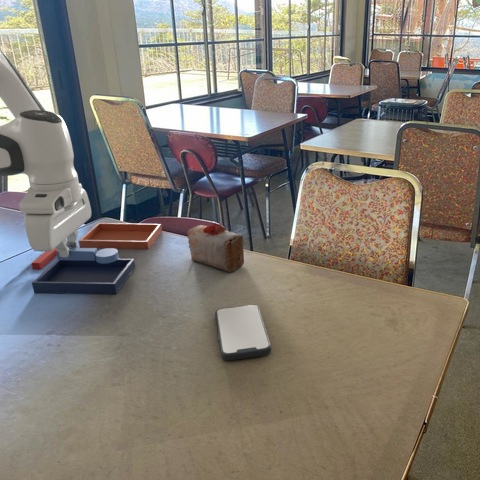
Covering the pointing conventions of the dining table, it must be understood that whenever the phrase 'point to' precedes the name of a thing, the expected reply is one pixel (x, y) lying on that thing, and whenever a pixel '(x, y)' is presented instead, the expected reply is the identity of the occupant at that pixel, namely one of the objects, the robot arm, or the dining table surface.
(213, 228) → the food item
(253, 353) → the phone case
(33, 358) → the dining table surface
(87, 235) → the terracotta tray
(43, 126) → the robot arm
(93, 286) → the navy tray
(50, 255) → the red spoon
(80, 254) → the blue spoon
